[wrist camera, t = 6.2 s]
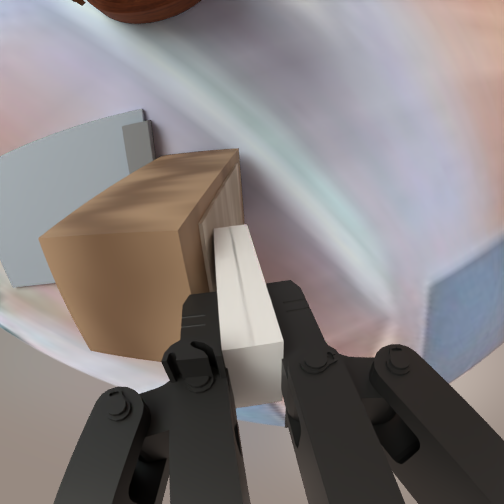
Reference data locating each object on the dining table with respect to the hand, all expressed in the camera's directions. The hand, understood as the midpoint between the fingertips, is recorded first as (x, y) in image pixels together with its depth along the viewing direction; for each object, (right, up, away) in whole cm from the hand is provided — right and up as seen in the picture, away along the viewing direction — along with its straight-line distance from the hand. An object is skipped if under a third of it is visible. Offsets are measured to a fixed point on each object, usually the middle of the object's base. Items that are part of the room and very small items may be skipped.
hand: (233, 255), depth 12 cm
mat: (-16, +4, +9) cm, 18 cm away
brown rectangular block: (-3, +5, +9) cm, 11 cm away
